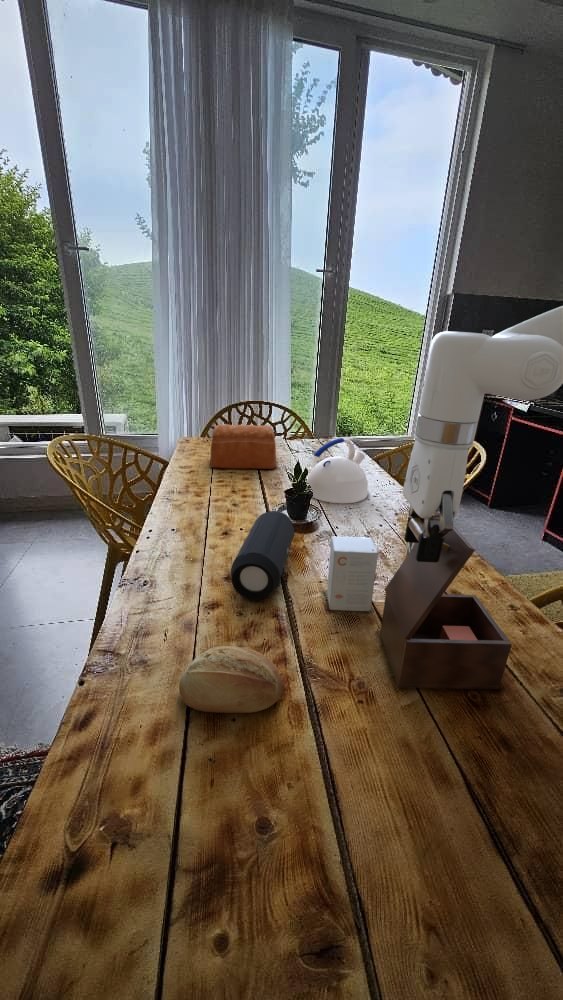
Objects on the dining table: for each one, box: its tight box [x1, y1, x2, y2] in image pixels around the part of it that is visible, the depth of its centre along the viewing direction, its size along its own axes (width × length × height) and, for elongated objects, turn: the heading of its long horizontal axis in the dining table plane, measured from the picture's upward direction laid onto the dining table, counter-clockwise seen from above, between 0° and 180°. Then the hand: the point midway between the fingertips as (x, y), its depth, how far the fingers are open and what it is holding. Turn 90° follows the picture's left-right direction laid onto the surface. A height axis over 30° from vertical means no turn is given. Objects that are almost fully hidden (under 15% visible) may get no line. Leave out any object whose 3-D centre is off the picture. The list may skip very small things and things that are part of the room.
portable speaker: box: [230, 510, 295, 601], centre depth 96 cm, size 26×10×10 cm, turn 171°
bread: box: [210, 423, 277, 470], centre depth 167 cm, size 17×24×15 cm
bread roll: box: [178, 645, 284, 714], centre depth 63 cm, size 10×15×8 cm, turn 91°
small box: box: [326, 535, 379, 612], centre depth 86 cm, size 8×6×13 cm
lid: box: [384, 511, 476, 640], centre depth 67 cm, size 16×13×6 cm
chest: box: [379, 593, 513, 690], centre depth 72 cm, size 16×13×9 cm
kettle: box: [306, 437, 369, 504], centre depth 141 cm, size 20×21×18 cm
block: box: [440, 626, 477, 640], centre depth 73 cm, size 4×4×4 cm
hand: (420, 550), depth 66 cm, fingers closed on lid, 5 cm apart
